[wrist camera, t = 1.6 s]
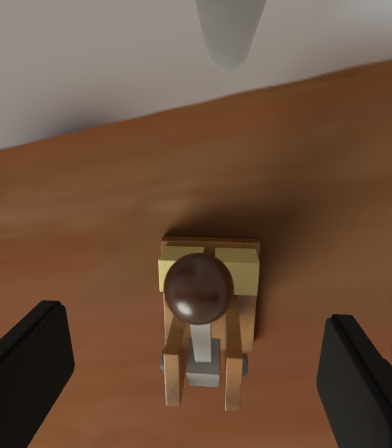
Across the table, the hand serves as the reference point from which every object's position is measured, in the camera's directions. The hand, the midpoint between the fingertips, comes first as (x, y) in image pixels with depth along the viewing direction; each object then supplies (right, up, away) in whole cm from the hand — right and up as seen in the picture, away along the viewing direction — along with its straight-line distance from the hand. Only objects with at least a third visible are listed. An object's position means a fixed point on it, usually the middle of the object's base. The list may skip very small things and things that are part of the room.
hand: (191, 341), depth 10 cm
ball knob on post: (+1, -1, +7) cm, 8 cm away
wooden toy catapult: (+2, -3, +19) cm, 19 cm away
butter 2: (+4, +1, +16) cm, 16 cm away
